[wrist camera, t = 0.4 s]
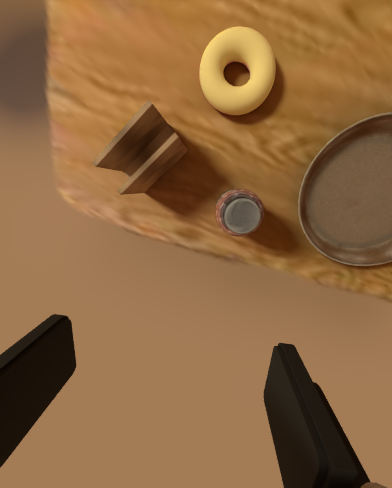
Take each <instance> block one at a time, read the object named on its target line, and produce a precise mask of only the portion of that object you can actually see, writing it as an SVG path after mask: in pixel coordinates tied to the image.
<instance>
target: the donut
mask: <svg viewBox="0 0 392 488" xmlns="http://www.w3.org/2000/svg"><path fill="white" fill-rule="evenodd" d="M231 62H240V63H243V64H244V65H245V66H246V67H247V68H248V69H249V72H250V79H249V81H248V83H247V84H245V85H243V86H240V87H236V86H232V85H230V84H229V83H228V82H227V81H226V80H225V78H224V75H223V71H224V68H225V67H226V65H228V64H229V63H231ZM275 73H276V63H275V57H274V53H273V51H272V48H271V46H270V44H269V43H268V41H267V40H266V39H265V38H264V37H263V36H262V35H261V34H260V33H259V32H257V31H255V30H253V29H251V28H247V27H232V28H229V29H226V30H224V31H222V32H221V33H219V34H218V35H217V36H215V37H214V38H213V39H212V41H211V42H210V43H209V44H208V46H207V48H206V49H205V51H204V54H203V56H202V60H201V64H200V83H201V87H202V90H203V93H204V95H205V97H206V99H207V100H208V101H209V103H210V104H211V105H212V106H213V107H214V108H216V109H217V110H218V111H220V112H222V113H225V114H228V115H242V114H246V113H249V112H251V111H253V110H254V109H256V108H257V107H258V106H260V105H261V104H262V103H263V101H264V100H265V99H266V98H267V96H268V95H269V93H270V91H271V89H272V86H273V83H274V79H275Z"/></svg>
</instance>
